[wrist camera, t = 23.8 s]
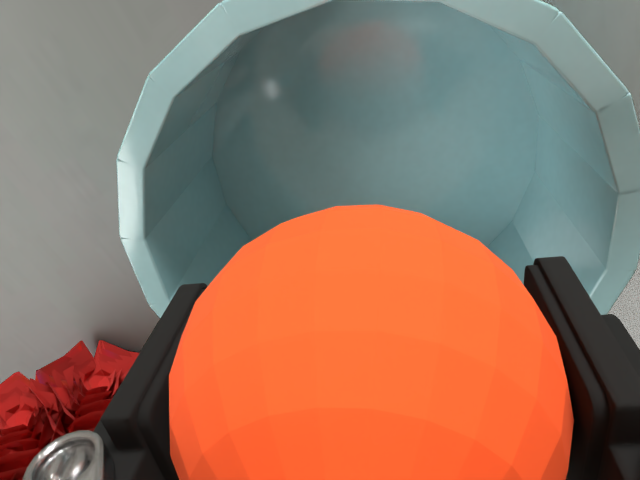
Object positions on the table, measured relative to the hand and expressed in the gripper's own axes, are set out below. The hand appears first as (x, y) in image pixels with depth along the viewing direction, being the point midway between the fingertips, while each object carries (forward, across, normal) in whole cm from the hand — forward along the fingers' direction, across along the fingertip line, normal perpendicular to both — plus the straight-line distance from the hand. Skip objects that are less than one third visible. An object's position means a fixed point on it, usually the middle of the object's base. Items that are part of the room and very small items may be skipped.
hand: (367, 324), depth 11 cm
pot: (+11, 0, 0) cm, 11 cm away
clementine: (+1, 0, 0) cm, 1 cm away
